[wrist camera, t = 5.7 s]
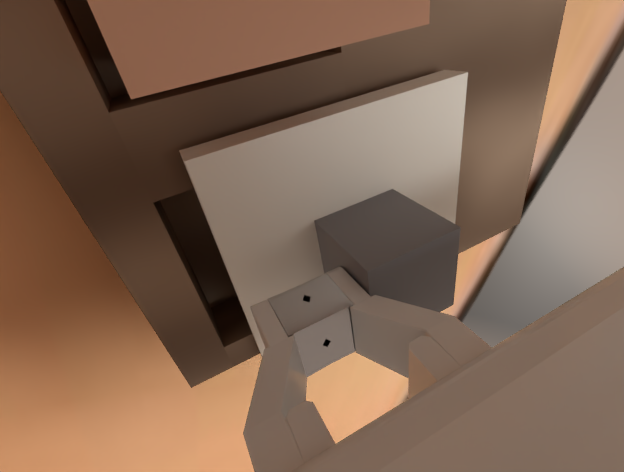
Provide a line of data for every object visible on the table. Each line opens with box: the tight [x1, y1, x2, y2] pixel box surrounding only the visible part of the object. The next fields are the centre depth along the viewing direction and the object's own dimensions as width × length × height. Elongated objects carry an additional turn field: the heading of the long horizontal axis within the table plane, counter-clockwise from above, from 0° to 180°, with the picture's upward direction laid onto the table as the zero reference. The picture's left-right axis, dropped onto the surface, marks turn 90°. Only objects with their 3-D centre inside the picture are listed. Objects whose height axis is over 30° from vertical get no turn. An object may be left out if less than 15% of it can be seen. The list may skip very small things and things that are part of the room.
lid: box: [179, 70, 468, 356], centre depth 11 cm, size 9×9×4 cm
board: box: [0, 0, 567, 388], centre depth 12 cm, size 18×18×4 cm
